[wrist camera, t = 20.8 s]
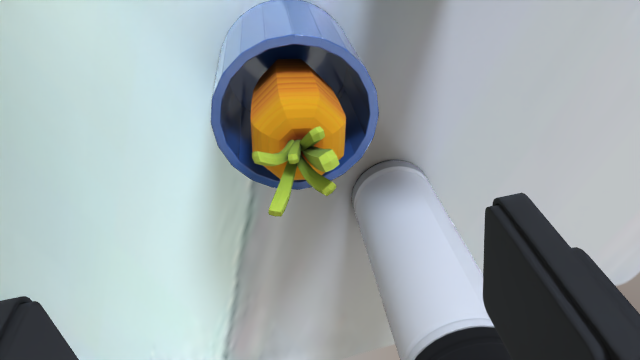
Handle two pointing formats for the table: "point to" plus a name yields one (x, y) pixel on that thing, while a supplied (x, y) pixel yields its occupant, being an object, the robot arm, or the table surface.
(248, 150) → the cup
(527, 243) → the robot arm
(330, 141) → the carrot
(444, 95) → the table surface
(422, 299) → the travel mug
